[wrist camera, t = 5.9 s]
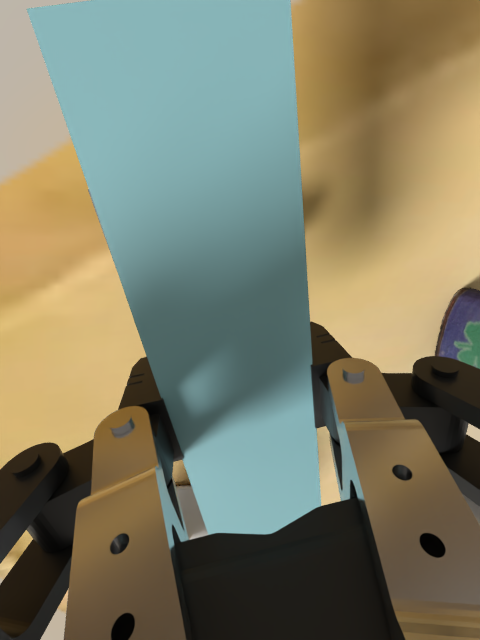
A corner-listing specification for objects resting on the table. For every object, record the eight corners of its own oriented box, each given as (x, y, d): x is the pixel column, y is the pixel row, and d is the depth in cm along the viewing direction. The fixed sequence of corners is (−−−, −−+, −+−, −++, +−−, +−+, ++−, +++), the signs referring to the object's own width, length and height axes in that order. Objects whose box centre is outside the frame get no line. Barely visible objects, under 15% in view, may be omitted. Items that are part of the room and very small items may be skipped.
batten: (246, 69, 8) (288, -25, 5) (295, 487, 16) (325, 576, 12) (102, 91, 8) (26, 8, 4) (222, 505, 16) (231, 601, 12)
